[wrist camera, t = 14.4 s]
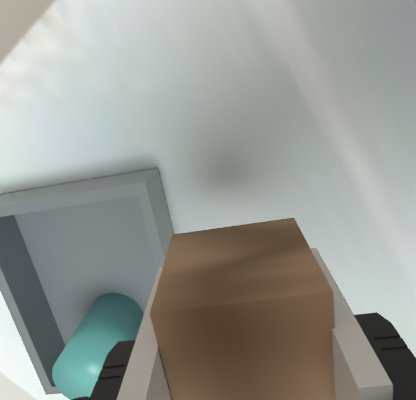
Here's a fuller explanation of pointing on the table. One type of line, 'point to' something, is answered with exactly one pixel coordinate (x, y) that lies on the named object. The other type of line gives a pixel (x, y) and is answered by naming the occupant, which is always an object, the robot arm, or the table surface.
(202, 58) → the table surface
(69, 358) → the teal canister
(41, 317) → the tote
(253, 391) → the walnut cube
